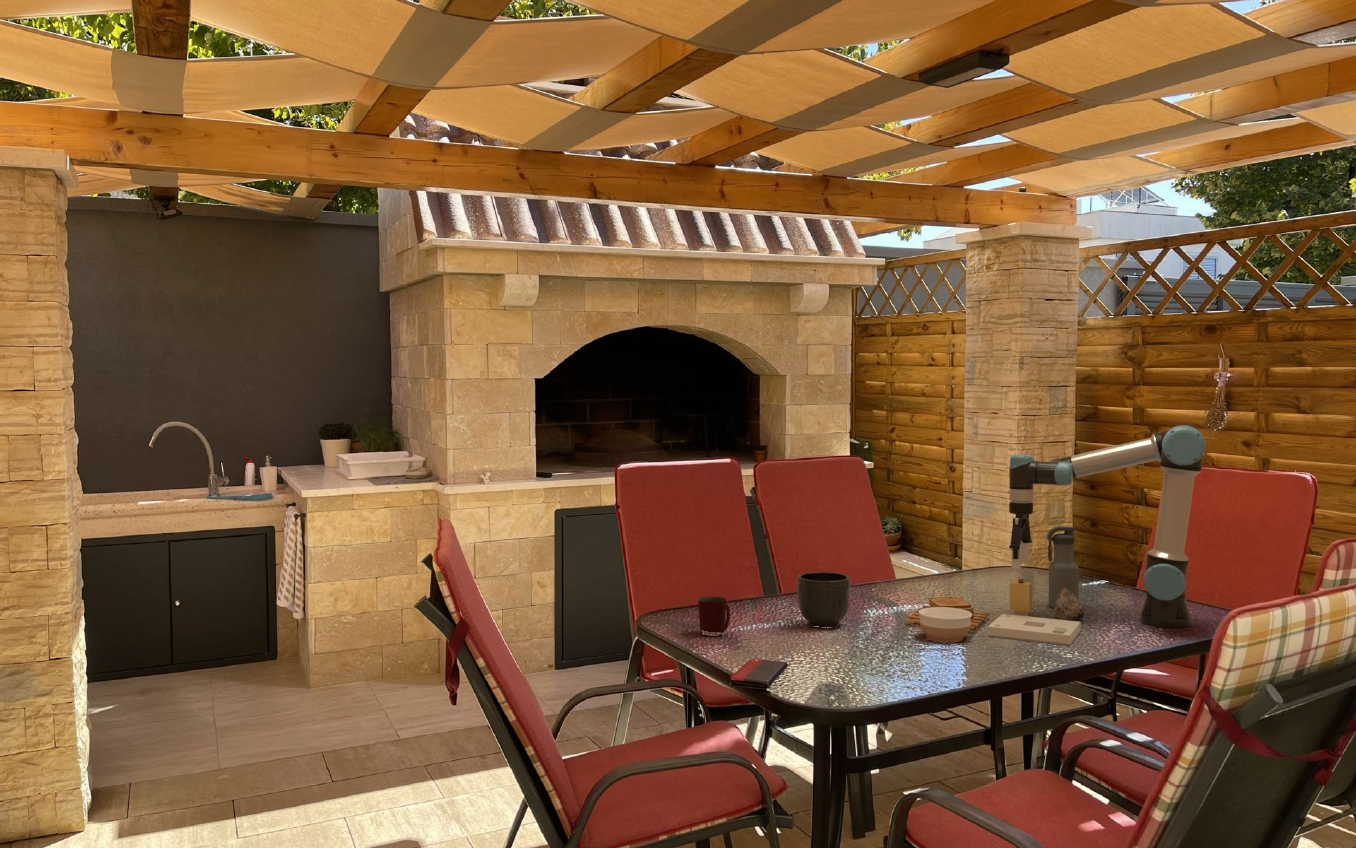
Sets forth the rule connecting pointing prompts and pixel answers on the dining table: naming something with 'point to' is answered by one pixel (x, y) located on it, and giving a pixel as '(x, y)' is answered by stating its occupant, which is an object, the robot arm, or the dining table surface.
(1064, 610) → the rock
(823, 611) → the planter
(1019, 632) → the socket plate
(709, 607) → the mug
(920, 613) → the bowl
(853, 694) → the dining table surface
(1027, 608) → the plug
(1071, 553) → the water bottle
